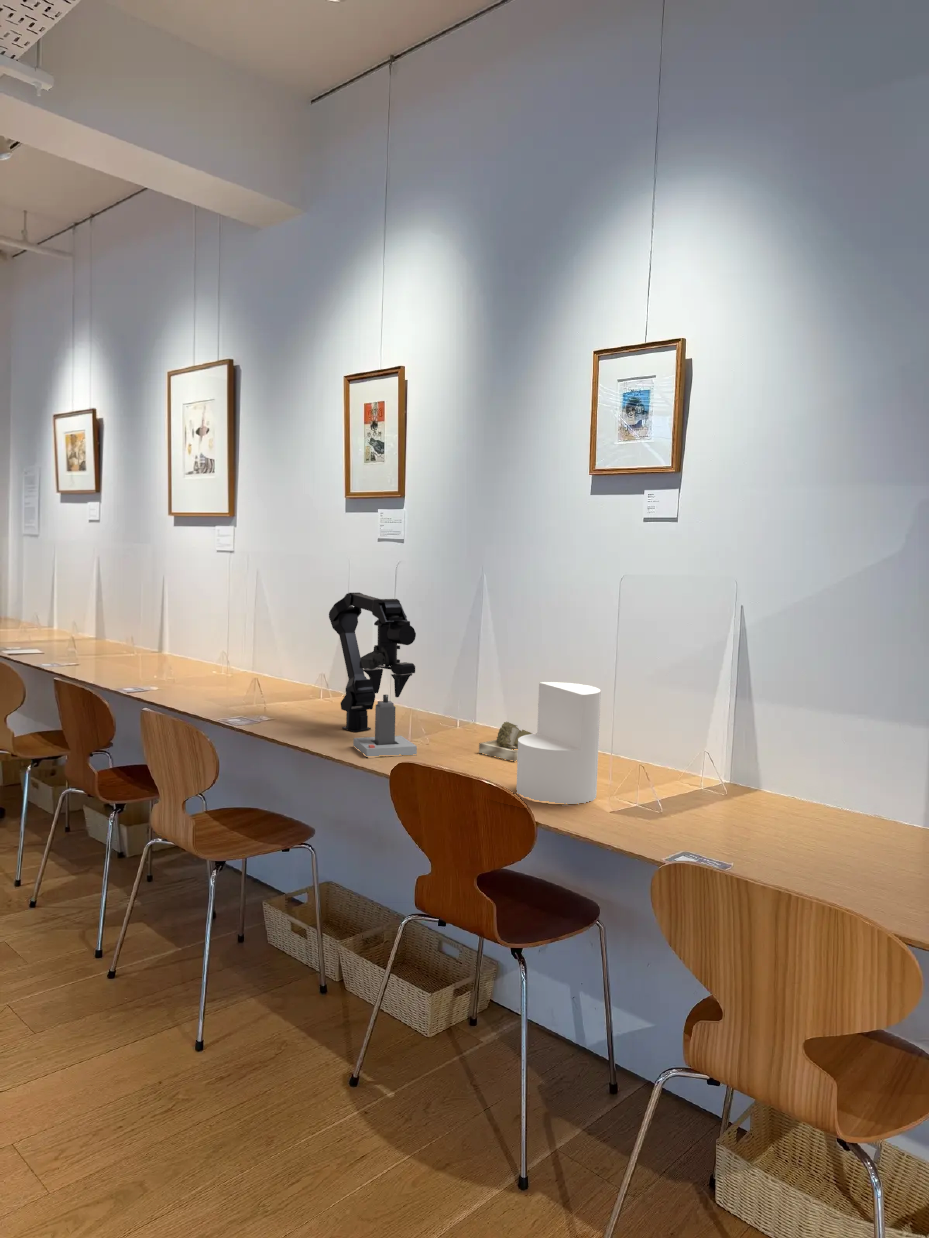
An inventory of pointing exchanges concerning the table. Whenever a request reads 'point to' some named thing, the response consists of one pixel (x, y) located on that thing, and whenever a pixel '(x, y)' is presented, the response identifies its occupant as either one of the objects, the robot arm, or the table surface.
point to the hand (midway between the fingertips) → (386, 695)
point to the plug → (385, 722)
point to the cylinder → (562, 745)
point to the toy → (510, 735)
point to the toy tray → (498, 750)
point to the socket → (385, 747)
